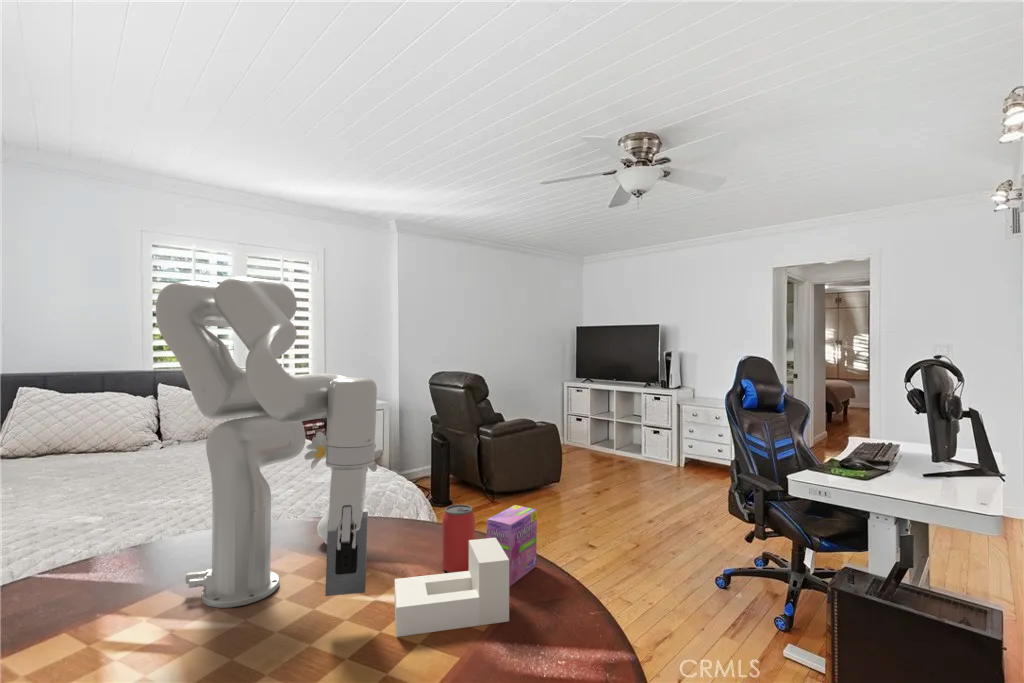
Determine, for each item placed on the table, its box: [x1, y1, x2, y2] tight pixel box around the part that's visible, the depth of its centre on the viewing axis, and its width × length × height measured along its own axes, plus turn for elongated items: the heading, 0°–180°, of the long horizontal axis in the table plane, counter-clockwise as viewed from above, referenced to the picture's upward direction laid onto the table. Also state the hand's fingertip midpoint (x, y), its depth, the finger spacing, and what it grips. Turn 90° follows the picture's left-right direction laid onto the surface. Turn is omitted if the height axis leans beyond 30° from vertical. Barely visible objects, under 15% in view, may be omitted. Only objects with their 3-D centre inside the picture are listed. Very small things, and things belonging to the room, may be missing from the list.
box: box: [486, 504, 538, 587], centre depth 100 cm, size 10×6×12 cm, turn 148°
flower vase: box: [304, 431, 384, 546], centre depth 117 cm, size 13×18×25 cm
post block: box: [394, 537, 510, 638], centre depth 85 cm, size 18×10×10 cm, turn 105°
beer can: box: [442, 504, 476, 573], centre depth 103 cm, size 7×7×12 cm
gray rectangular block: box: [324, 511, 369, 597], centre depth 82 cm, size 6×3×12 cm, turn 104°
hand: (346, 566), depth 82 cm, fingers closed on gray rectangular block, 3 cm apart
